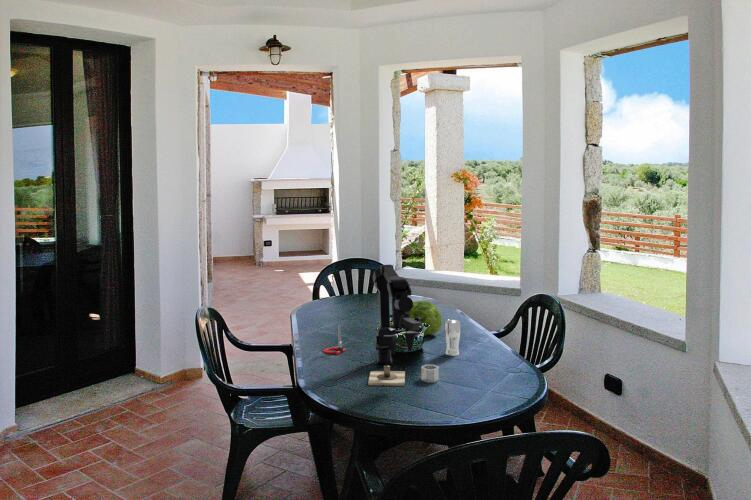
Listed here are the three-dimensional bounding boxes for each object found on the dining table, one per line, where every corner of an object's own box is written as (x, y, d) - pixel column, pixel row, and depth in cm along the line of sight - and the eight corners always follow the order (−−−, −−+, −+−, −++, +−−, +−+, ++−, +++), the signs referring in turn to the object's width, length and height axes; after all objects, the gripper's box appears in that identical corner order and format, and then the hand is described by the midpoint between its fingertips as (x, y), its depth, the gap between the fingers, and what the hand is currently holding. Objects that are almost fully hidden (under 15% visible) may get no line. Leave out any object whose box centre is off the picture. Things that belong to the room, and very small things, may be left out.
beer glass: (463, 355, 271) (463, 322, 269) (449, 357, 268) (449, 323, 266) (455, 350, 277) (455, 318, 275) (441, 352, 275) (441, 320, 273)
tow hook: (320, 353, 278) (337, 355, 273) (318, 326, 276) (335, 327, 272) (330, 349, 285) (347, 350, 280) (328, 322, 284) (345, 323, 279)
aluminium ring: (421, 376, 243) (421, 364, 243) (438, 376, 243) (438, 364, 242) (421, 382, 237) (421, 370, 236) (439, 382, 236) (439, 370, 236)
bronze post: (384, 375, 242) (384, 364, 241) (390, 375, 242) (390, 364, 241) (383, 377, 240) (383, 366, 239) (389, 377, 239) (389, 366, 239)
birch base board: (370, 373, 248) (370, 370, 248) (404, 373, 247) (404, 370, 247) (368, 385, 234) (368, 382, 234) (404, 385, 233) (404, 382, 233)
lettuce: (410, 310, 323) (391, 296, 310) (449, 307, 309) (430, 292, 296) (404, 342, 315) (385, 329, 302) (444, 341, 301) (425, 327, 288)
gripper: (398, 312, 221) (400, 356, 220) (431, 309, 234) (433, 350, 233) (376, 313, 229) (379, 355, 227) (409, 310, 242) (412, 349, 241)
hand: (401, 352), depth 232 cm, fingers open, 9 cm apart
